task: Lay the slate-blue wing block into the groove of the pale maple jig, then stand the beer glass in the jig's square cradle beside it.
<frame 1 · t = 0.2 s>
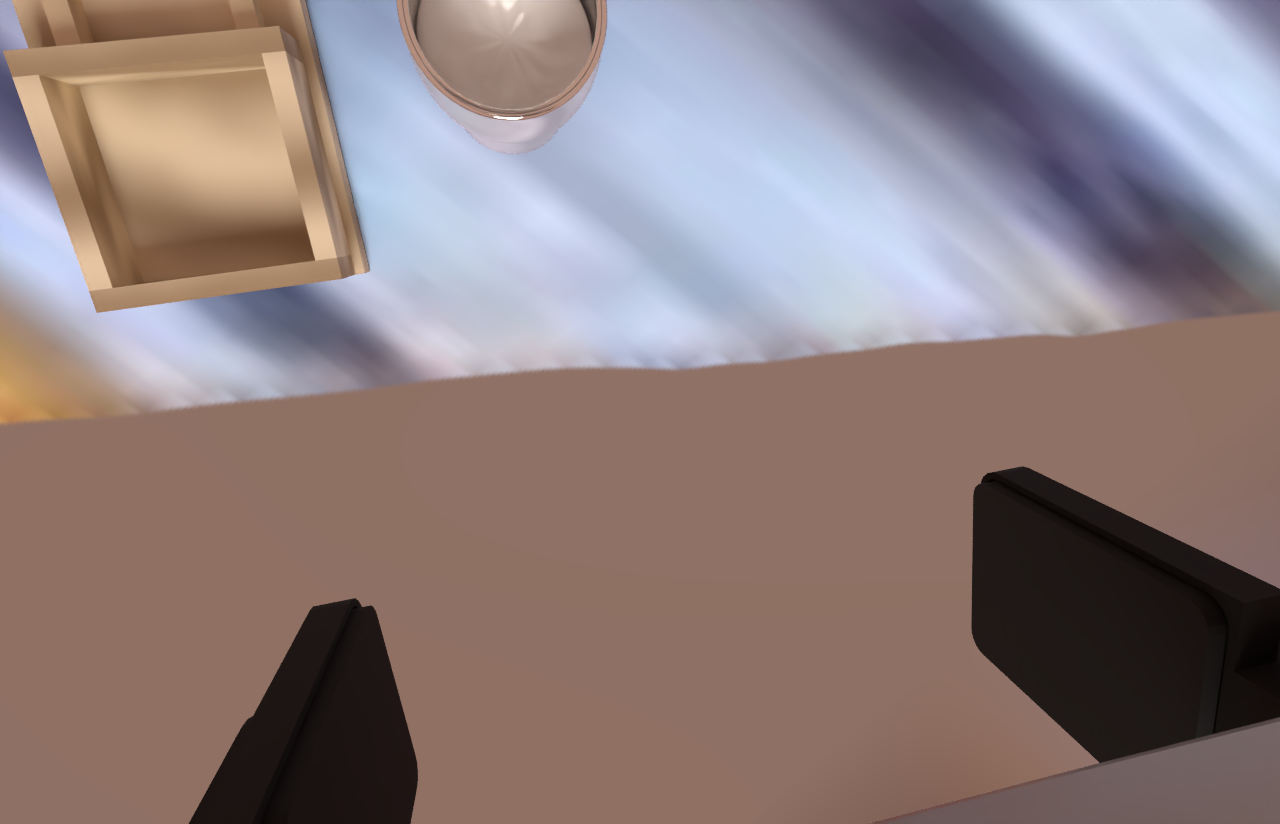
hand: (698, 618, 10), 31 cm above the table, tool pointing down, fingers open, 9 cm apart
jig: (187, 59, 33), on the table
beer glass: (510, 93, 36), on the table
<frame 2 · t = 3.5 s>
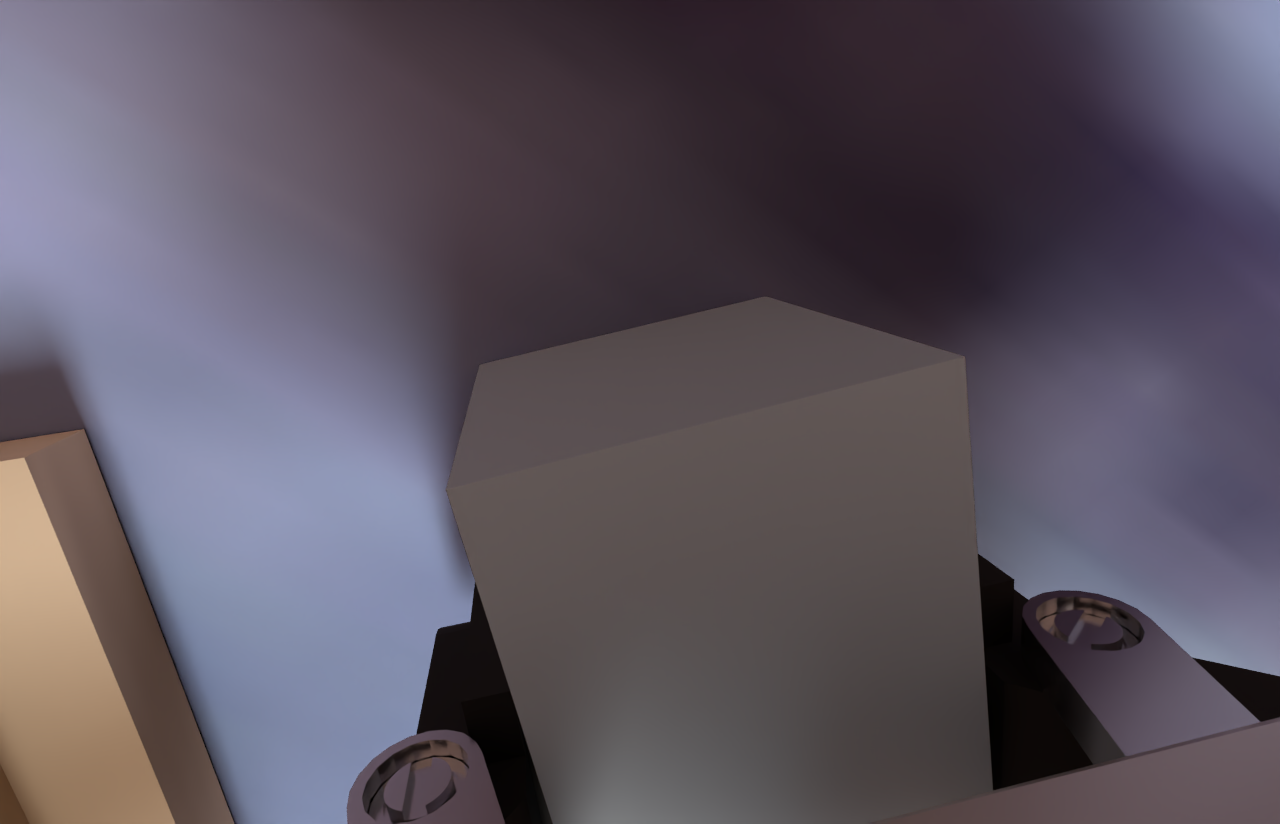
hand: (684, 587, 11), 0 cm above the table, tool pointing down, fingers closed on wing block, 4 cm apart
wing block: (677, 570, 12), on the table, touching gripper
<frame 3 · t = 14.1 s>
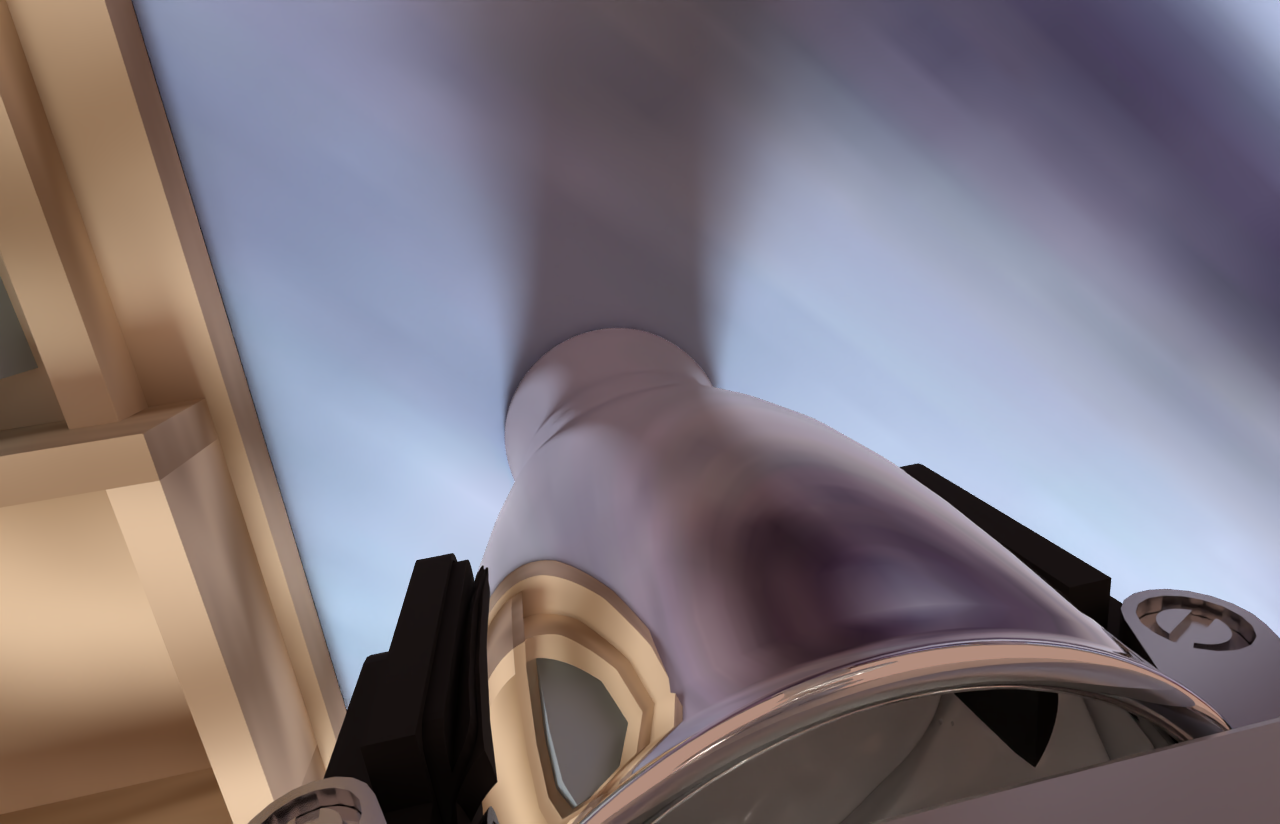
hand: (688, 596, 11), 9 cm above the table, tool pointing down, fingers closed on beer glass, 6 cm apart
beer glass: (613, 432, 19), on the table, touching gripper
when the fingers open (11 cm above the table, at t = 19.3 s): beer glass drops 2 cm, resting on jig.
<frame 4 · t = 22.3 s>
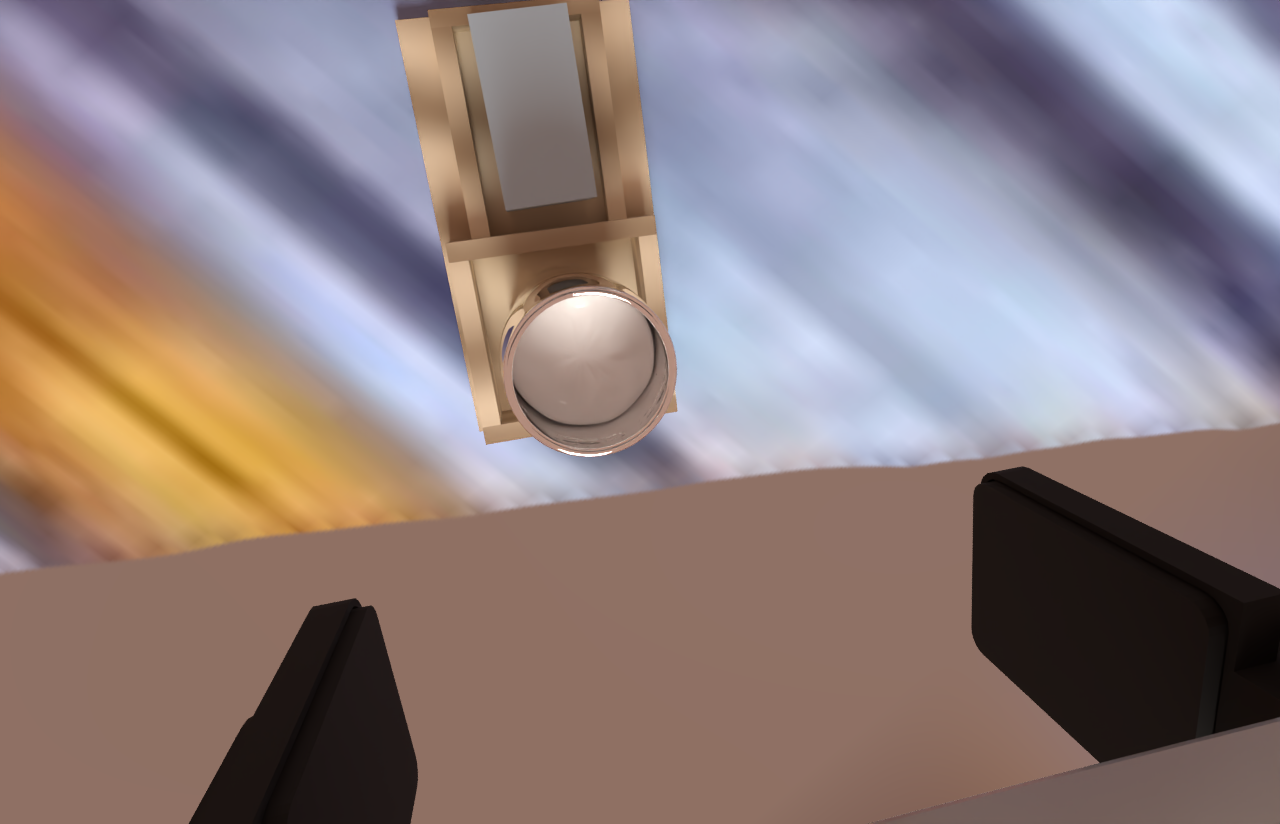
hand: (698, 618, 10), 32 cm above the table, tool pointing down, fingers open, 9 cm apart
jig: (548, 228, 39), on the table
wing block: (533, 124, 37), point 1 cm above the table, touching jig
beer glass: (563, 320, 40), point 1 cm above the table, touching jig
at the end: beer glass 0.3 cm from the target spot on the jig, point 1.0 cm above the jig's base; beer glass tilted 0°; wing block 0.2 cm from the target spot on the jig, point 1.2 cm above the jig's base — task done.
